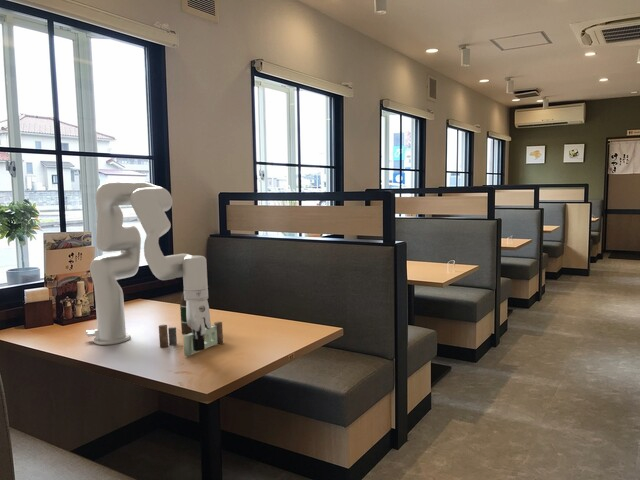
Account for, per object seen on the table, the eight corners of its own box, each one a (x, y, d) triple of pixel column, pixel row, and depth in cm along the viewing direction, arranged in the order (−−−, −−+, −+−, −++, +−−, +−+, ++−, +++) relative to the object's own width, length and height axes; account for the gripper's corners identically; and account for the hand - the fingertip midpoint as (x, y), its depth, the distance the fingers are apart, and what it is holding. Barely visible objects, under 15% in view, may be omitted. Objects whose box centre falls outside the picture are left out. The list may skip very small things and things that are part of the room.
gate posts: (159, 348, 174) (157, 326, 173) (161, 344, 178) (160, 323, 177) (222, 344, 176) (221, 323, 176) (223, 340, 180) (222, 320, 180)
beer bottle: (196, 335, 189) (193, 272, 186) (177, 334, 190) (173, 272, 188) (205, 329, 196) (202, 268, 194) (187, 329, 198) (183, 268, 195)
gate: (188, 356, 163) (187, 336, 162) (182, 355, 164) (181, 336, 163) (218, 343, 175) (217, 325, 175) (212, 343, 176) (211, 325, 176)
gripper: (216, 296, 157) (218, 353, 159) (199, 289, 169) (201, 342, 171) (192, 299, 153) (196, 358, 155) (177, 292, 165) (180, 346, 167)
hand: (199, 349), depth 163 cm, fingers closed
